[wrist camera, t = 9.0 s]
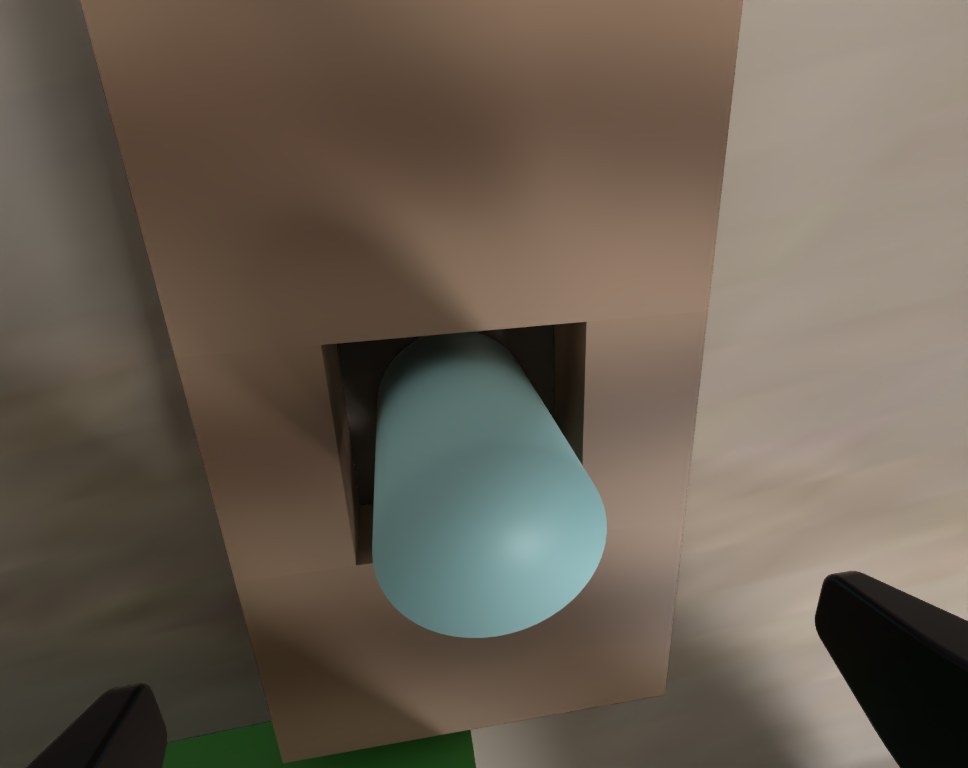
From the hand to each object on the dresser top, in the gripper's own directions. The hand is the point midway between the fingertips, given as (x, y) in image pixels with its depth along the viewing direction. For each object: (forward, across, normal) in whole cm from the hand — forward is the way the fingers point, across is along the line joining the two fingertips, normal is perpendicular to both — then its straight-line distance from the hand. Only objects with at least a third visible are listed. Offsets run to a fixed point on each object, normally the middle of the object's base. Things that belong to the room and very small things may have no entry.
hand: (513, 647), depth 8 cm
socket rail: (+8, 0, 0) cm, 8 cm away
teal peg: (+8, 0, 0) cm, 8 cm away
